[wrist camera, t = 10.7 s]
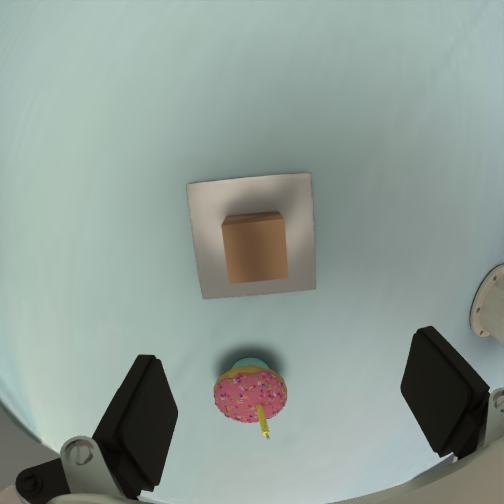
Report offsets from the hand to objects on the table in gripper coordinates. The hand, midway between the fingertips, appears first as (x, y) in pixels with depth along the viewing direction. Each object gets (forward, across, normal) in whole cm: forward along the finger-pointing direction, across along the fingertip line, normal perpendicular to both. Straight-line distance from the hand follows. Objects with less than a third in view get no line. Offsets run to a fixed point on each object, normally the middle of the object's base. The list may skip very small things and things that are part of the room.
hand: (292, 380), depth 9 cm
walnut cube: (+20, +1, -1) cm, 20 cm away
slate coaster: (+21, +1, -1) cm, 21 cm away
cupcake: (+21, +3, +17) cm, 27 cm away
